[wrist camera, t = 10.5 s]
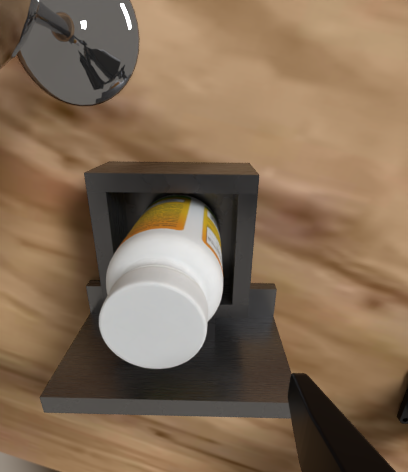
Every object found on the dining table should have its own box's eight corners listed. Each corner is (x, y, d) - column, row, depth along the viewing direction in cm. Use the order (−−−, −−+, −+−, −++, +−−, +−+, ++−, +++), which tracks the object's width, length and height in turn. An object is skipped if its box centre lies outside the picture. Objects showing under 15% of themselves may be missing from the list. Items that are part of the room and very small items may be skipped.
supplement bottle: (127, 244, 20) (57, 349, 11) (161, 177, 18) (111, 236, 9) (195, 279, 21) (182, 402, 12) (235, 218, 19) (255, 308, 10)
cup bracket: (269, 322, 23) (297, 418, 16) (96, 318, 23) (44, 412, 16) (288, 163, 18) (341, 195, 11) (70, 161, 19) (-22, 190, 11)
